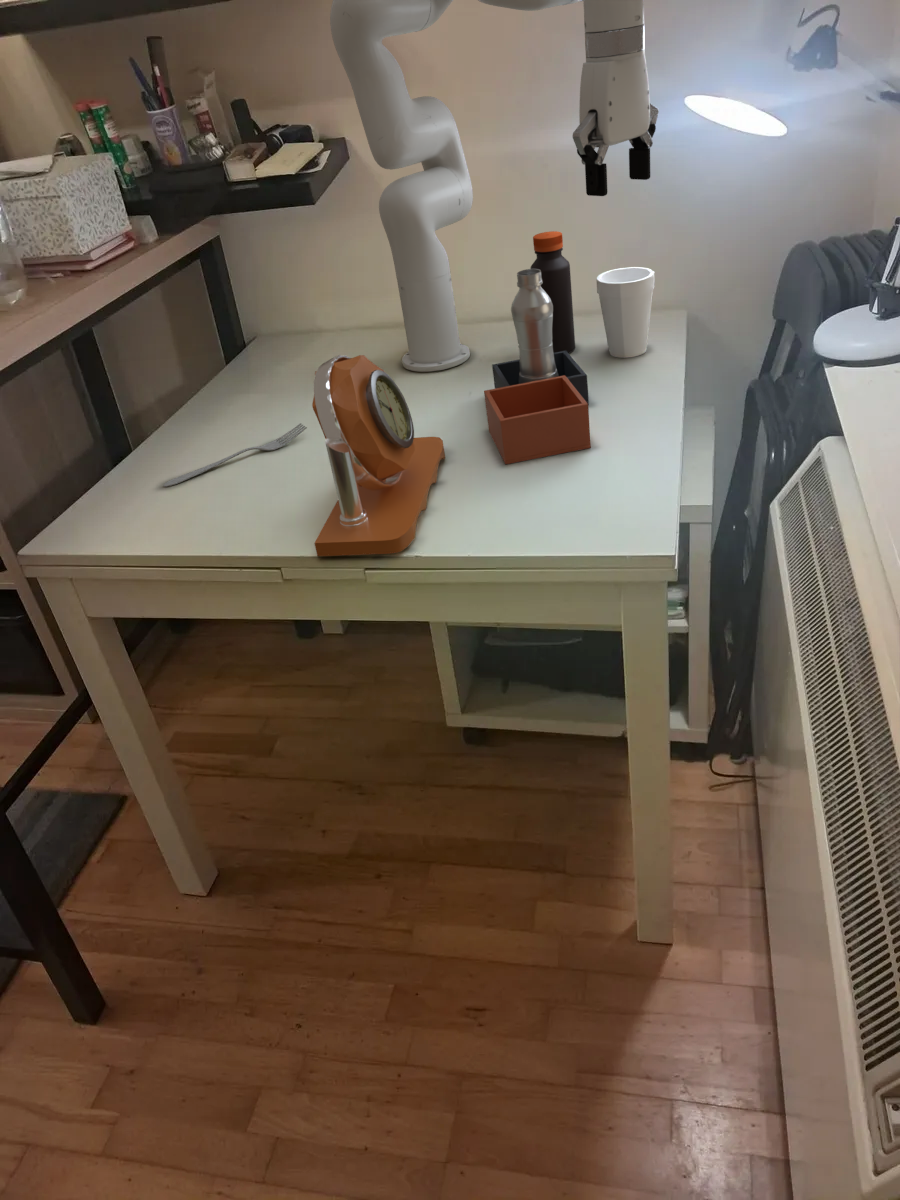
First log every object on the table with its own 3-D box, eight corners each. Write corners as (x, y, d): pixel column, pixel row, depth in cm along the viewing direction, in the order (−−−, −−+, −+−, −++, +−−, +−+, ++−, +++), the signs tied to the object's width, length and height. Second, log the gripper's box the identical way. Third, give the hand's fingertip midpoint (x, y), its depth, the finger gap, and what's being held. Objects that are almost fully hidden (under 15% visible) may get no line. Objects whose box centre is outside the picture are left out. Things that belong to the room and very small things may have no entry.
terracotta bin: (488, 431, 142) (483, 390, 139) (568, 416, 143) (565, 375, 139) (505, 464, 132) (500, 421, 128) (590, 447, 133) (588, 404, 129)
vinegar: (535, 358, 166) (524, 241, 155) (540, 345, 172) (530, 231, 161) (573, 356, 165) (565, 238, 154) (577, 343, 170) (570, 228, 159)
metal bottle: (534, 411, 146) (522, 281, 136) (512, 399, 152) (498, 273, 141) (569, 399, 149) (559, 270, 138) (546, 388, 154) (535, 263, 143)
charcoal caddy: (495, 393, 155) (491, 364, 152) (568, 379, 156) (566, 350, 153) (510, 420, 145) (507, 389, 142) (588, 405, 145) (586, 374, 143)
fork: (160, 483, 143) (156, 472, 142) (302, 432, 152) (300, 422, 152) (166, 490, 141) (163, 479, 140) (310, 437, 150) (308, 427, 149)
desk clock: (314, 559, 117) (275, 407, 106) (370, 455, 141) (343, 323, 130) (409, 556, 114) (380, 400, 103) (449, 450, 138) (429, 315, 127)
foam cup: (653, 339, 166) (652, 264, 159) (658, 357, 158) (656, 279, 151) (599, 345, 168) (595, 271, 160) (601, 363, 160) (597, 286, 153)
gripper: (631, 37, 128) (634, 172, 137) (548, 57, 118) (557, 200, 128) (678, 33, 123) (677, 173, 132) (596, 54, 114) (601, 203, 123)
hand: (618, 187), depth 130 cm, fingers open, 9 cm apart
